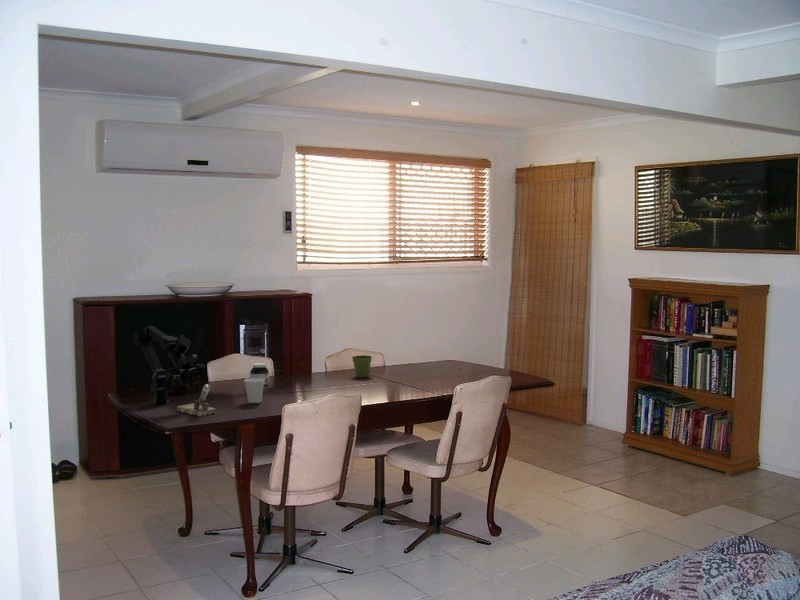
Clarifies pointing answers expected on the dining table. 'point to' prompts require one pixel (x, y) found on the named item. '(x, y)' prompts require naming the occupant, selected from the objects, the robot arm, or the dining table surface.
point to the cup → (254, 389)
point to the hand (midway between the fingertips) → (193, 386)
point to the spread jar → (260, 372)
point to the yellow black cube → (185, 385)
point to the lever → (204, 394)
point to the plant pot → (362, 365)
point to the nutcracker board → (197, 408)
